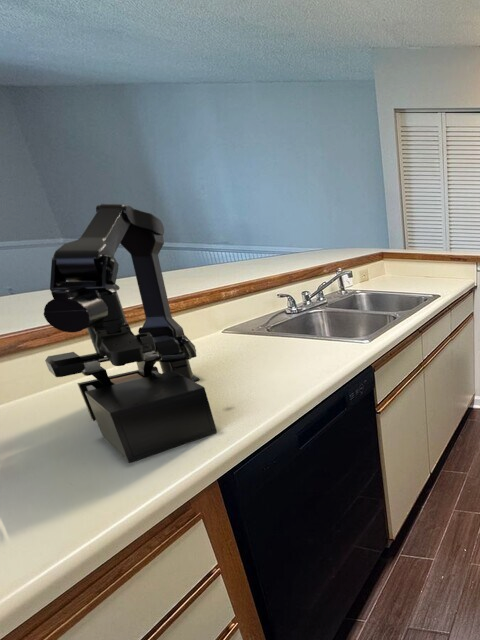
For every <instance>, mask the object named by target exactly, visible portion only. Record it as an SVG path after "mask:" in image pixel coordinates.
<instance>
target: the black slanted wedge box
mask: <svg viewBox="0 0 480 640" xmlns="http://www.w3.org/2000/svg"><path fill="white" fill-rule="evenodd" d="M85 393H86V395H87V398H88V401H89V403H90V406H91V408H92V411H93V413H94V416H95V418H96V420H95V421H96V423H97V426H98V428H99V431H100V433H101V436H102V438H103V439H104V440H105V441H106V442H107V443H108V444H109V445H110V447H112V448H113V449H114V450H115V451H116V452H117V453H118V454H119V455H120V456H121V457H122V458H123V459H124V460H125V461H126V462H127V463H128V464H131V463H135V462H137V461H140V460H142V459H146V458H148V457H151V456H154V455H158V454H160V453H163V452H165V451H168V450H172V449H174V448H177V447H180V446H183V445H185V444H186V445H187V444H188V443H191V442H193V441H196V440H199V439H203V438H205V437H209V436H211V435H214V434H216V433H218V430H217V427H216V423H215V420H214V415H213V412H212V409H211V405H210V402H209V398H208V395H207V391H206V388H205V387H204V386H202V385H201V384H199V383H197V382H196V381H195V382H194V381H192V380H190V379H188V378H186V377H184V376H183V375H181V374H179V373H177V372H175V371H170V372H166V373H163V372H162V373H161V374H158V375H153V376H149V377H145V378H141V379H136V380H132V381H128V382H123V383H119V384H115V385H111V386H106V387H102V388H98V389H93V390H89V391H85Z"/></svg>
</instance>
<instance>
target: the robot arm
mask: <svg viewBox="0 0 480 640" xmlns="http://www.w3.org/2000/svg"><path fill="white" fill-rule="evenodd" d="M95 211H96V213H95V214H94V216H93V218H92V219H91V220H90V222H89V224H88V225H87V227H86V228H85V230H84V231H83V233H82V234H81V236H80V237H79V238H78V239H75V240H73V241H70V242H67V243H64V244H62V245H61V246H59V248H56V250H55V251H54V253H53V256H52V258H51V267H50V279H49V281H50V283H49V290H50V294H51V296H52V299H50V300H49V301H48V302H47V303H45V305H44V309H43V317H44V319H45V320H46V322H47V323H48V324H49V325H50V326H51V327H52V328H54V329H56V330H58V331H60V332H65V333H71V334H73V333H79V332H83V331H84V330H87V332H88V335H89V339H90V340H91V343H92V345H93V348H94V351H95V353H94V352H93V353H89V354H83V355H79V354H77V353H76V352H75V351H70V352H65V353H59V354H53V355H47V356H46V358H45V360H44V362H45V365H46V367H47V370H48V371H49V372H50V373H51V374H52V375H53V376H54V377H55V378H64V377H68V376H72V375H77V374H82V375H83V376H86V377H88V376H89V377H90V376H92V377H94V378H95V379H97V380H98V381H99V382H100V383H101V384H102V385H103V386H104V387H106V386H111V385H113V384H112V382H111V381H110V379H109V377H108V376H109V375H108V371H107V369H106V368H105V367H103V366H101V363H105V362H110V363H111V365H112V366H115V367H122V366H126V365H128V364H133V363H136V366H137V370H139V374H140V375H141V376H142V377H144V378H145V377H149V376H151V374H152V370H153V367H154V366H156V363H157V362H158V363H159V365H160V369H161V372H162V373H166V372H170V371H175V372H177V373H179V374H181V375H183V376H184V377H186V378H188V379H190V380H192V381H194V382H195V383H196V382H198V381H200V377H199V376H196V375H194V372H193V370H192V366H191V363H190V360H191V359H194V358H197V357H198V355H197V349H196V346H195V344H194V343H193V342H192V341H191V340H190V339H189V338H188V336H187V335H185V331H184V328H183V327H182V326H181V325H180V324H179V323H178V322H177V321H176V320H175V319H174V318H173V316H172V312H171V308H170V303H169V300H168V299H169V298H168V294H167V289H166V285H165V280H164V277H163V272H162V267H161V263H160V262H161V261H160V258H159V254H160V252H161V250H162V249H163V246H164V244H165V241H164V234H165V227H164V223H163V222H162V220H161V219H159V218H158V217H157V216H155V215H154V214H152V213H150V212H147V211H143V210H139V209H137V208H133V207H132V206H130V205H127V204H125V203H101V204H97V205H96V207H95ZM120 245H121V246H122V248H124V249H125V251H127V252H128V253H129V254H130V257H131V262H132V266H133V269H134V274H135V277H136V282H137V287H138V291H139V296H140V299H141V303H142V304H141V305H142V309H143V312H144V317H145V321H144V323H143V325H142V327H141V326H140V327H139V328H138V330H137V332H138V333H136V334H135V333H134V332H133V331H132V329H131V326H130V324H129V323H128V320H127V318H126V314H125V312H124V309H123V306H122V303H121V300H120V297H119V293H118V292H117V291H119V290H120V289H121V288H120V286H119V285H118V284H116V283H117V279H118V278H117V277H118V274H119V269H120V268H119V266H120V265H119V262H118V261H117V259H116V258H115V254H116V252H117V250H118V248H119V246H120Z"/></svg>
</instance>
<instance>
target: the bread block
mask: <svg viewBox="0 0 480 640" xmlns="http://www.w3.org/2000/svg"><path fill="white" fill-rule="evenodd" d="M141 378H144V377H142V376H141V375H139V374H132V375H128V376H124V377H119V378H115V379H110V381H111V382H112V384H113V385H115V384H119V383H123V382H128V381H132V380H136V379H141Z"/></svg>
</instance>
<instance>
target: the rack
mask: <svg viewBox="0 0 480 640" xmlns="http://www.w3.org/2000/svg"><path fill="white" fill-rule="evenodd" d="M132 374H139V370H138V369H136V370H131V371H126V372H123V373H118V374H113V375H108V377H109V379H115V378H119V377H124V376H128V375H132ZM158 374H162V373H161V372H160V371H159V368H158V367H157V366H156V365H154V366H153V370H152V374H151V376H153V375H158ZM139 375H140V374H139ZM77 386H78V389H79V391H80V393H81V396H82V398H83V401H84V403H85V407H86V409H87V411H88V414H89V417H90V418H91V420H92V421H93V422H94V421H96V418H95V416H94V413H93V411H92V408H91V406H90V403H89V401H88V398H87V395H86V393H85V391H89V390H93V389H98V388H102V387H104V386H103V385H102V384H101V383H100V382H99V381H98V380H97V379H96V378H95V379H90V380H86V381H81V382H77Z"/></svg>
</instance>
